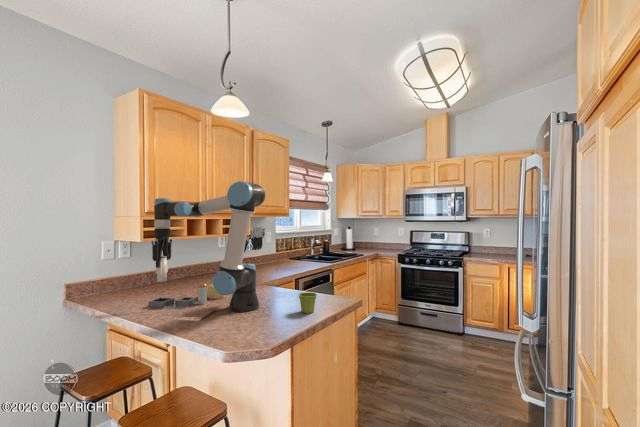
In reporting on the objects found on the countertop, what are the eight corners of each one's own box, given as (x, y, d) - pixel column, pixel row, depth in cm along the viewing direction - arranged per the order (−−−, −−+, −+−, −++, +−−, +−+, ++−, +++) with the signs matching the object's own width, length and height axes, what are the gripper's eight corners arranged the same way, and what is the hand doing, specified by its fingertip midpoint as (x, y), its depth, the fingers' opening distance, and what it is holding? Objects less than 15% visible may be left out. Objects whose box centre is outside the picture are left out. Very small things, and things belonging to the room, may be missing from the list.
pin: (208, 305, 170) (208, 283, 170) (204, 307, 166) (204, 285, 166) (201, 305, 171) (201, 283, 171) (196, 307, 167) (196, 284, 167)
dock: (198, 304, 172) (198, 296, 172) (183, 312, 158) (183, 303, 158) (164, 303, 175) (164, 295, 175) (147, 310, 161) (147, 301, 162)
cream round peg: (168, 280, 167) (168, 256, 167) (163, 282, 163) (163, 257, 163) (160, 280, 168) (161, 255, 168) (155, 281, 164) (155, 256, 164)
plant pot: (299, 309, 164) (299, 292, 164) (317, 309, 163) (317, 292, 163) (297, 314, 154) (297, 296, 154) (316, 314, 154) (316, 296, 154)
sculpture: (213, 303, 175) (213, 283, 175) (203, 299, 183) (203, 280, 183) (232, 299, 183) (232, 280, 184) (221, 296, 192) (221, 278, 192)
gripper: (166, 227, 175) (166, 270, 175) (144, 228, 158) (143, 275, 157) (178, 227, 174) (178, 270, 173) (157, 228, 157) (157, 276, 156)
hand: (162, 272), depth 165 cm, fingers closed on cream round peg, 4 cm apart
